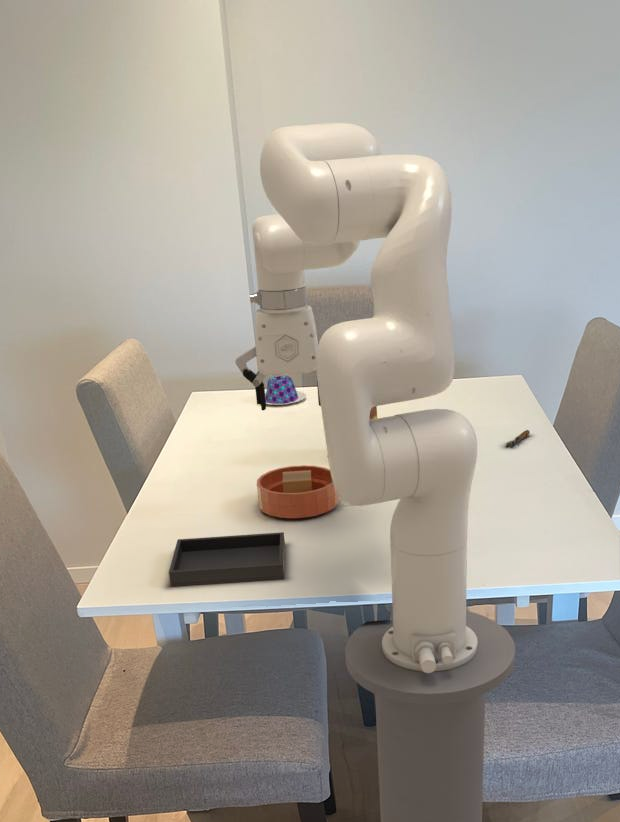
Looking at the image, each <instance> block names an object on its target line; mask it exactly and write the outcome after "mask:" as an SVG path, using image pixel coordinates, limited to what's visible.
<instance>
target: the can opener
mask: <svg viewBox="0 0 620 822" xmlns="http://www.w3.org/2000/svg"><path fill="white" fill-rule="evenodd" d="M530 433H531V432H530V430H529V429H526V430H524V431H522V432H521V433H520V434H519V435H518V436H516V437H515V438H514V440H510V441H508V442H506V443H505V446H506V447H507V446H509V447H513V446H514V445H515V443H520V442H521V441H522V440H523V439H525V438H526V437H528V436H529V435H530Z"/></svg>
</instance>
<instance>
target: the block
mask: <svg viewBox="0 0 620 822" xmlns="http://www.w3.org/2000/svg"><path fill="white" fill-rule="evenodd" d="M282 482H283V493H302V492H308V491H312V480H311V470H306V471H291V472H283V481H282Z"/></svg>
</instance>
